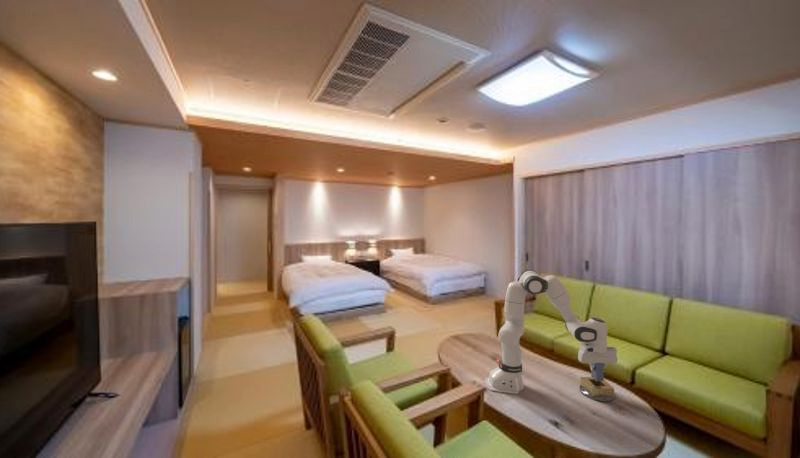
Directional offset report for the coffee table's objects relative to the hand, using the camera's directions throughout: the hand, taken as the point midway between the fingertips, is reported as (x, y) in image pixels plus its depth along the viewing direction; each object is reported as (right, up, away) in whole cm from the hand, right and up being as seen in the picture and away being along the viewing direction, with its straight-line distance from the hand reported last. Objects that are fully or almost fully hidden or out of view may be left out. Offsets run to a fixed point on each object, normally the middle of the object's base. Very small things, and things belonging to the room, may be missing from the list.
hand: (597, 370), depth 178 cm
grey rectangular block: (0, -5, 0) cm, 5 cm away
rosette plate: (0, -14, +1) cm, 14 cm away
